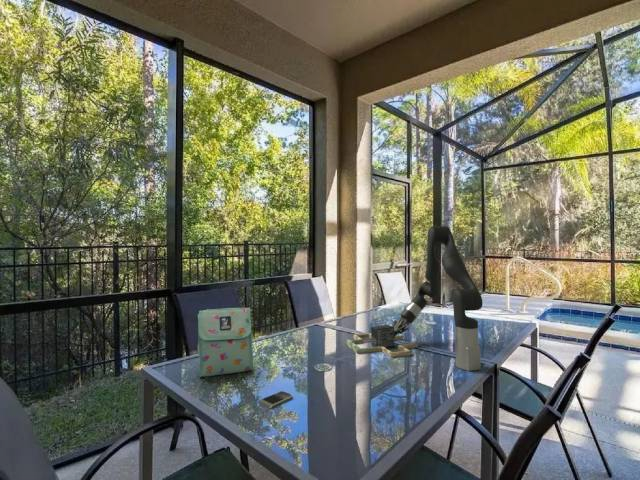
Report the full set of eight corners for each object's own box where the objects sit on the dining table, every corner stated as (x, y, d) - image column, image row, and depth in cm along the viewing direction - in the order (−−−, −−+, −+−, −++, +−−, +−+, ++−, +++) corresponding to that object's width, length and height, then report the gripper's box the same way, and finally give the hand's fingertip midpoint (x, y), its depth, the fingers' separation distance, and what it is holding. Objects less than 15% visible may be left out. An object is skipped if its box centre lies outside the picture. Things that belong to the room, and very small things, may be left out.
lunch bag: (196, 380, 138) (195, 313, 138) (199, 366, 154) (198, 306, 154) (254, 373, 144) (253, 309, 145) (251, 361, 160) (250, 303, 160)
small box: (388, 343, 184) (387, 324, 184) (395, 347, 178) (394, 326, 178) (370, 346, 180) (370, 326, 180) (377, 349, 174) (377, 328, 174)
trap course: (429, 353, 167) (429, 347, 167) (365, 360, 158) (365, 353, 158) (393, 334, 203) (393, 329, 203) (339, 339, 194) (339, 334, 194)
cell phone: (294, 399, 120) (294, 395, 120) (269, 410, 112) (269, 406, 112) (282, 394, 125) (282, 390, 125) (257, 405, 116) (257, 400, 117)
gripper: (400, 306, 191) (380, 330, 188) (412, 310, 179) (391, 336, 175) (409, 314, 193) (389, 338, 189) (422, 319, 180) (401, 345, 177)
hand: (390, 337), depth 182 cm, fingers closed
